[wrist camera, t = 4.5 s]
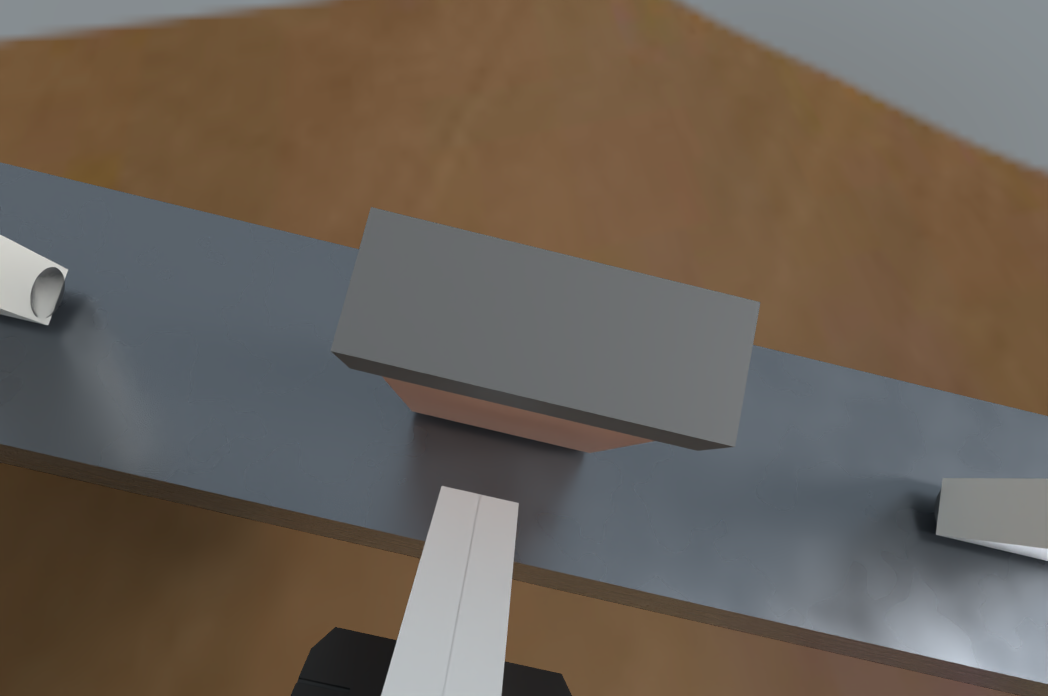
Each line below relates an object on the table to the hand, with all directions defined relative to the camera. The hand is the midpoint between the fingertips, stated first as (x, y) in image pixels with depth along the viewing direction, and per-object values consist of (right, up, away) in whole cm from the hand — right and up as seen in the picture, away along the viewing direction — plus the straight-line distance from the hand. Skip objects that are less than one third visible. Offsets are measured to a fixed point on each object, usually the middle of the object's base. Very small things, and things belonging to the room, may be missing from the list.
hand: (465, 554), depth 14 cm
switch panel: (0, +1, +9) cm, 9 cm away
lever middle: (+1, +2, +6) cm, 7 cm away
